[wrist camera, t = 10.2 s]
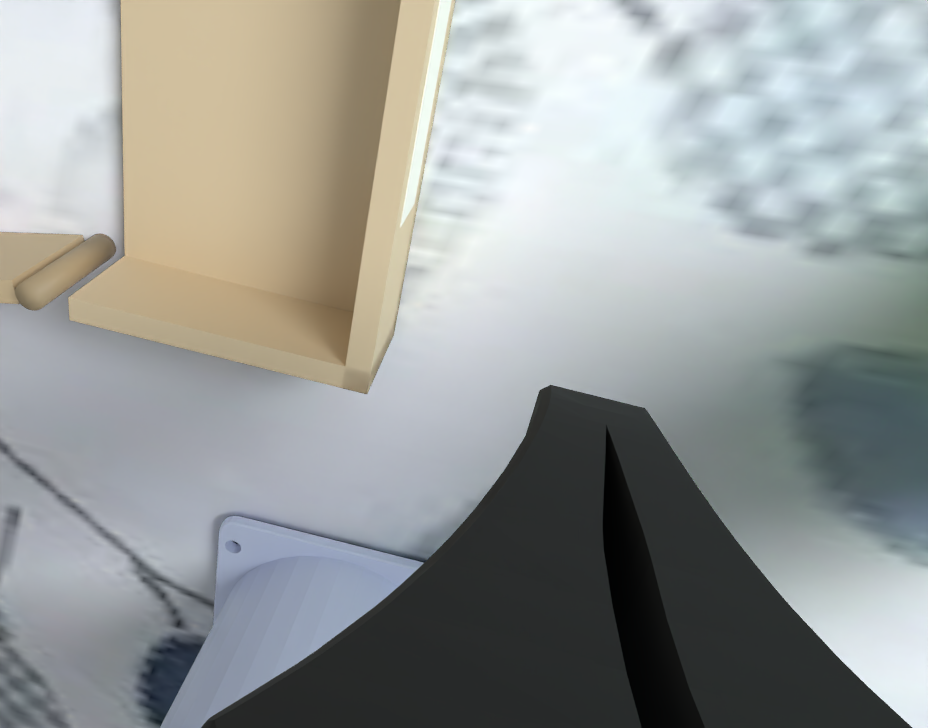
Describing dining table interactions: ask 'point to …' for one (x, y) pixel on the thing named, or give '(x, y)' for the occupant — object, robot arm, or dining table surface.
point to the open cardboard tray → (271, 178)
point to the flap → (47, 265)
